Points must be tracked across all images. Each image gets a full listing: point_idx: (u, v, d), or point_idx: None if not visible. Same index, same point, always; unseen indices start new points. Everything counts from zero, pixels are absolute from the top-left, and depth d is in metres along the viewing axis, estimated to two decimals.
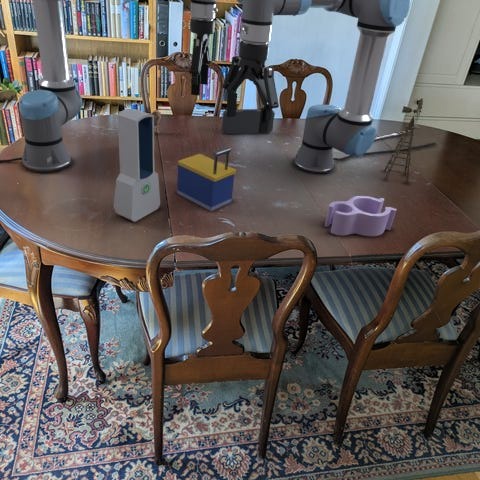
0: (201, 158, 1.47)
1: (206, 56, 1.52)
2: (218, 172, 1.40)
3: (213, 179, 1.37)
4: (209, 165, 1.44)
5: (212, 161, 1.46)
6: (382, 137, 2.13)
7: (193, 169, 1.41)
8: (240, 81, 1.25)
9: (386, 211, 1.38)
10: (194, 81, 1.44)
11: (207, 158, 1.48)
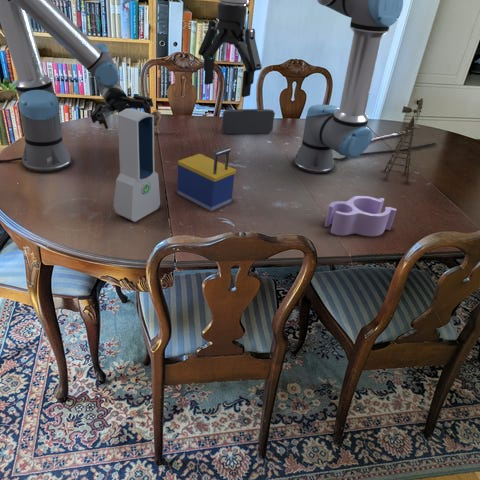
0: (201, 158, 1.47)
1: (107, 115, 1.50)
2: (218, 172, 1.40)
3: (213, 179, 1.37)
4: (209, 165, 1.44)
5: (212, 161, 1.46)
6: (382, 137, 2.13)
7: (193, 169, 1.41)
8: None
9: (386, 211, 1.38)
10: (149, 106, 1.49)
11: (207, 158, 1.48)
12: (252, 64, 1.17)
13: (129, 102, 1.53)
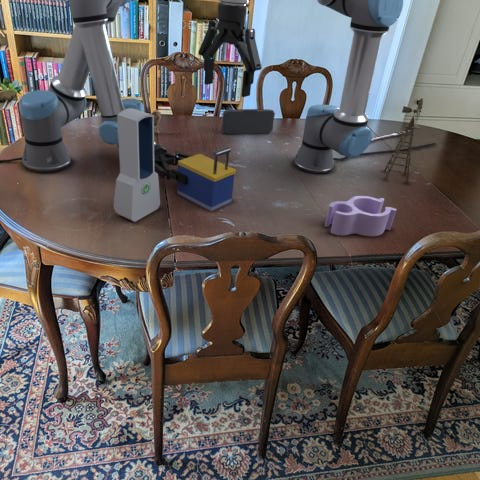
0: (201, 158, 1.47)
1: None
2: (218, 172, 1.40)
3: (213, 179, 1.37)
4: (209, 165, 1.44)
5: (212, 161, 1.46)
6: (382, 137, 2.13)
7: (193, 169, 1.41)
8: None
9: (386, 211, 1.38)
10: None
11: (207, 158, 1.48)
12: (252, 64, 1.17)
13: (176, 159, 1.56)
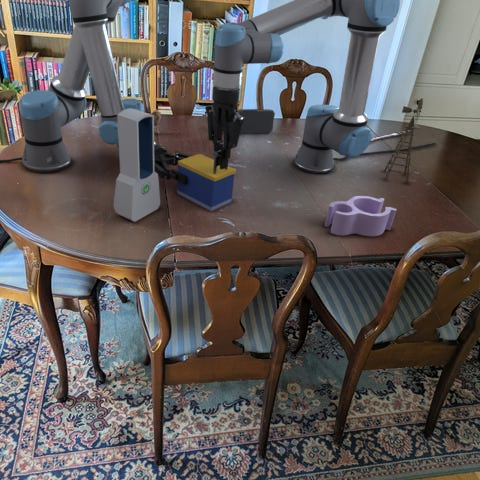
0: (201, 158, 1.47)
1: None
2: (218, 172, 1.40)
3: (213, 179, 1.37)
4: (209, 165, 1.44)
5: (212, 161, 1.46)
6: (382, 137, 2.13)
7: (193, 169, 1.41)
8: None
9: (386, 211, 1.38)
10: None
11: (207, 158, 1.48)
12: (230, 143, 1.32)
13: (176, 159, 1.56)
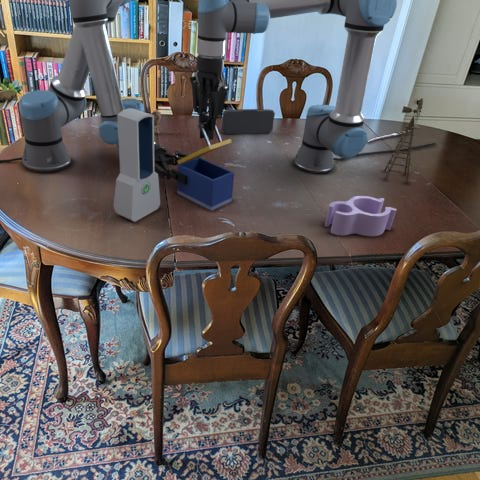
0: None
1: None
2: None
3: (208, 148, 1.34)
4: None
5: None
6: (382, 137, 2.13)
7: (190, 155, 1.40)
8: None
9: (386, 211, 1.38)
10: None
11: None
12: (215, 113, 1.32)
13: (176, 159, 1.56)
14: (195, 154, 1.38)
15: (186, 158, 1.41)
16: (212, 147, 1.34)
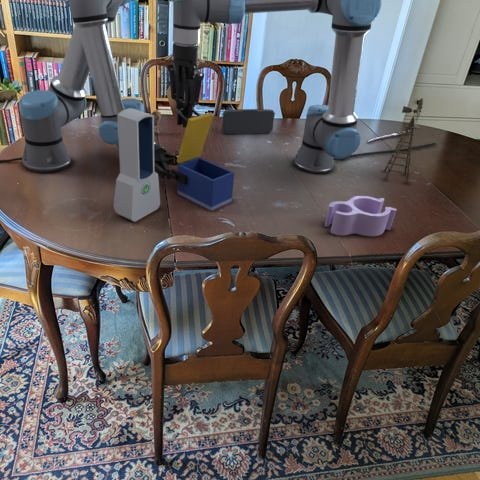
0: None
1: None
2: None
3: (189, 121, 1.35)
4: None
5: None
6: (382, 137, 2.13)
7: (182, 144, 1.40)
8: None
9: (386, 211, 1.38)
10: None
11: None
12: (191, 100, 1.36)
13: (176, 159, 1.56)
14: (184, 138, 1.39)
15: (181, 150, 1.42)
16: (193, 119, 1.35)
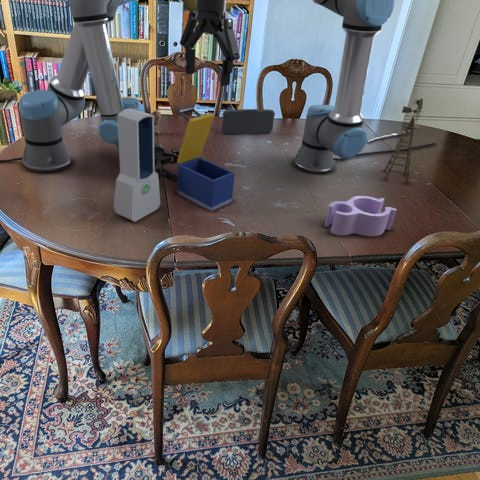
0: None
1: None
2: None
3: (190, 121, 1.34)
4: None
5: None
6: (382, 137, 2.13)
7: (183, 144, 1.40)
8: None
9: (386, 211, 1.38)
10: None
11: None
12: (230, 53, 1.21)
13: (175, 157, 1.57)
14: (185, 138, 1.38)
15: (181, 150, 1.42)
16: (194, 119, 1.35)
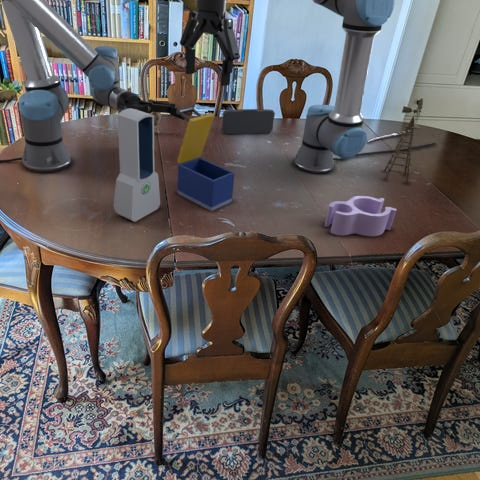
0: None
1: None
2: None
3: (190, 121, 1.34)
4: None
5: None
6: (382, 137, 2.13)
7: (183, 144, 1.40)
8: None
9: (386, 211, 1.38)
10: None
11: None
12: (230, 53, 1.21)
13: (152, 106, 1.55)
14: (185, 138, 1.38)
15: (181, 150, 1.42)
16: (194, 119, 1.35)
